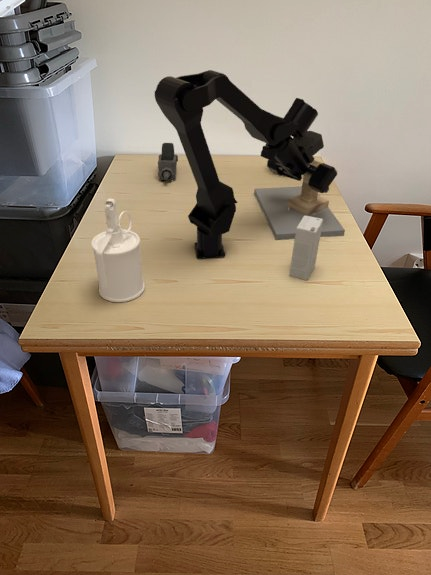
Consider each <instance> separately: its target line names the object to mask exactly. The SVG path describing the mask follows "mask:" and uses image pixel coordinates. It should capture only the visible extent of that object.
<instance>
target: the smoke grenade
mask: <svg viewBox="0 0 431 575" xmlns="http://www.w3.org/2000/svg"><path fill="white" fill-rule="evenodd" d="M104 204H105V207H104V212H105V219H106V221H105V224H106V227H107V228H106V230H104V231H102V232H100V233H98V234H96V235H95V236H94V237H93V238H92V239H91V242H90V246H91V249H92V251H93V255H94V260H95V266H96V267H95V268H96V273H97V278H98V284H99V285H98V286H99V287H98V294H99V295H100V296H101V297H102V298H103V299H104V300H106V301H107V302H108V301H109V302H112V303H126V302H130V301H133V300H136V299H137V298H139V296H141V295H142V294H143V293H144V291H145V288H146V286H145V281H144V280H143V279H144V278H143V268H142V259H141V250H140V244H141V237H140V235H138V234H137V233H136V232H135V231H132V226H133V217H132V215H131V214H130V212H129V211H126V210H124V211H122V212H121V213H120V214H119V216H118V210H117V209H118V208H117V202H116V200H115V199H114V198H108V199H106V200H105V203H104ZM124 214H127V216H128V217H129V218H128V220H129V226H128V228H127V229H125V228H122V227H121V223H120V221H121V220H122V217H123V215H124Z"/></svg>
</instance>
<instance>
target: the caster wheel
mask: <svg viewBox="0 0 431 575" xmlns="http://www.w3.org/2000/svg"><path fill="white" fill-rule="evenodd" d="M174 145H175V144H174V143H173V142H164V143H162V144H161V154H159V155H158V159H157V160H158V161H157V165H158V166H157V168H158V174H157V175H158V178H159V181H161V180H166V182H169V181H168V180H171V181H170V182H174V181H176V179H177V165H178V164H177V163H178V161H179V156H178V155H177V154H175V146H174ZM172 180H173V181H172Z"/></svg>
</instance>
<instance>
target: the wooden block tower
mask: <svg viewBox="0 0 431 575" xmlns="http://www.w3.org/2000/svg"><path fill="white" fill-rule="evenodd" d="M322 163H323V162H320V161H318V160H315V159H314V161H313V162H312V163H310V164H311V165H313V166H316V167H318V166H319V164H322ZM310 177H311V176H310V175H308V174H304V175H302V191H301V195H298V196H295V197H292V198H290V199H288V205H287V206H288V207H290V208H292V209H294V210H296V211H298V212H300V213H302V214H304V215H306V216H308V215H310V214H313V213H315V212H318V211H320V210H323V209H325V208H328V207H329V205H330V204H329V203H330V200H329V199H327V198H324V197H323V196H321V195H320V196H321V197H320V196H318V194H319V192H317V191H315V190H313V189H311V187H309V185H308V183H309V179H310Z"/></svg>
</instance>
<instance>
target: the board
mask: <svg viewBox="0 0 431 575" xmlns="http://www.w3.org/2000/svg"><path fill="white" fill-rule="evenodd" d="M253 190H254V192H253V194H254V196H255V198H257V199H256V201H257V200H258V201H257V203H258V204H259V207H260V209H261V211H262V214H263V215H264V218H265V220H266V222H267V224H268V225H269V228H270V230H271V232H272V234H273V236H274V239H275V240H276V241H279V240H293V239H294V240H295V235H296V228H297V226H298V225H299V223H300V222H301V220H302V218H303V217H304V216H306V215H304V214H302V213H300V212H298V211H296V210H294V209H292V208H290V207H288V206H287V205H288V199H290V198H292V197H295V196H298V195H301V191H302V186H301V185H300V186H283V187H281V186H278V187H259V188H254V189H253ZM318 196H320V197H322V196H321V195H320V193H318ZM308 216H310V217H315V218H321V219H323V224H322V230H321V235H320V238H326V237H328V238H329V237H342V236H345V232H346V230H345V228H344V227H343V225H342V223H340V221H339V220H338V219H337V217H336V216H335V215H334V213H333V212H332V210H331V209H330V208H329V206H328V208H325V209H323V210H320V211H318V212H315V213H313V214H310V215H308Z"/></svg>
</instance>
